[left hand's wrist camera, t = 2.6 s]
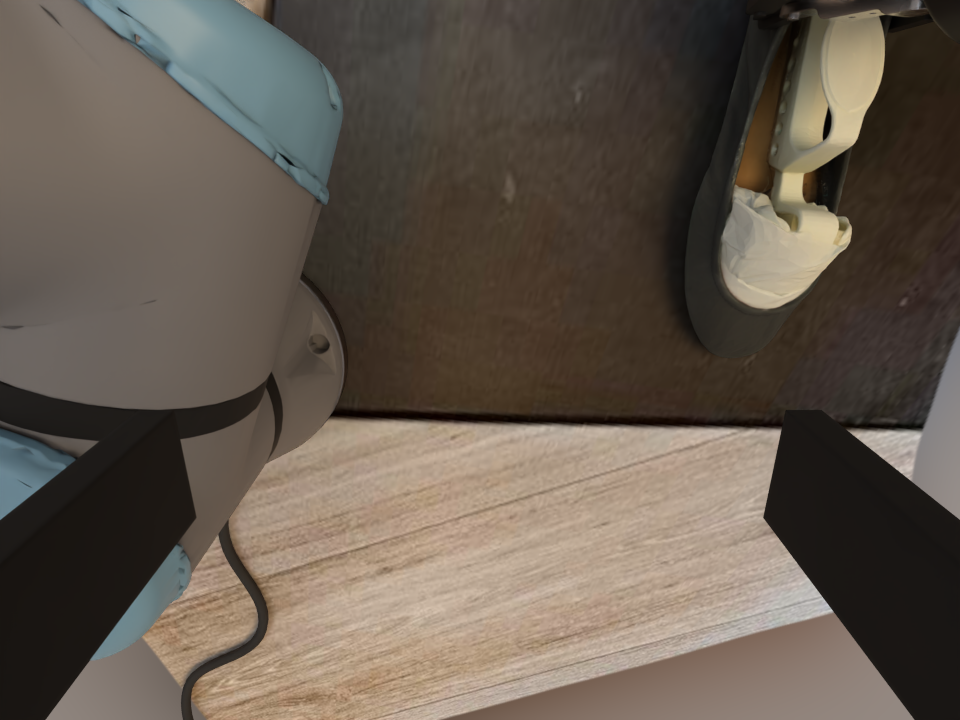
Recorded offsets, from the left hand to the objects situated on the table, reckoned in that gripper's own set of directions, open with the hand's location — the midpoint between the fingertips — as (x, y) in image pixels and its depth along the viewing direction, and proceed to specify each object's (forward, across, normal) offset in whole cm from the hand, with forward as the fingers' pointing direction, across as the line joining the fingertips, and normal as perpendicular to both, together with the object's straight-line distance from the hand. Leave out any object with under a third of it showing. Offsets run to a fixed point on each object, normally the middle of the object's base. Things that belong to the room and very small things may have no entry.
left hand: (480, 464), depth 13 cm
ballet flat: (+27, -17, -5) cm, 33 cm away
